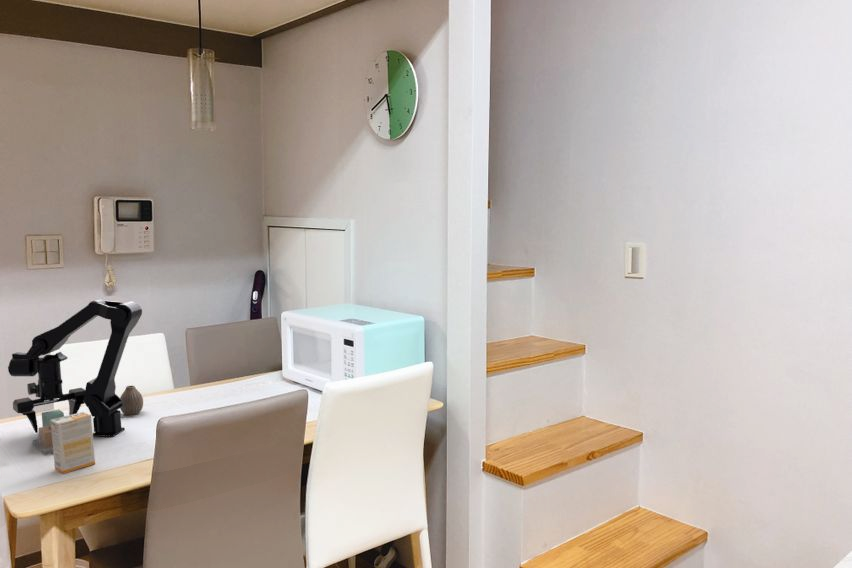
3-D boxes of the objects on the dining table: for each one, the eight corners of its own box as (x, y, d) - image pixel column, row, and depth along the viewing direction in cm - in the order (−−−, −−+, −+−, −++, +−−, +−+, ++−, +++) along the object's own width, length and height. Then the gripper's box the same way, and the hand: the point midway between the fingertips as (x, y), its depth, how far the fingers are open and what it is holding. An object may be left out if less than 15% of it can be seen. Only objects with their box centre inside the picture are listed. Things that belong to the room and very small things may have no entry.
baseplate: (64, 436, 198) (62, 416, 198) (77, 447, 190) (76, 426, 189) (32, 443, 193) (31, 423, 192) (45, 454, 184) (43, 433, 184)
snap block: (60, 429, 205) (58, 409, 204) (65, 432, 202) (63, 412, 201) (43, 432, 202) (41, 412, 201) (47, 436, 199) (46, 416, 198)
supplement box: (86, 460, 181) (83, 411, 179) (95, 464, 177) (92, 414, 176) (53, 469, 174) (49, 419, 173) (62, 474, 171) (58, 422, 170)
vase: (115, 416, 217) (113, 388, 216) (129, 409, 223) (127, 383, 222) (134, 417, 215) (132, 390, 214) (148, 411, 222) (146, 384, 221)
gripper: (75, 365, 212) (79, 415, 214) (5, 377, 199) (10, 429, 201) (87, 372, 204) (91, 423, 206) (15, 384, 191) (20, 439, 193)
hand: (54, 428), depth 202 cm, fingers open, 9 cm apart
